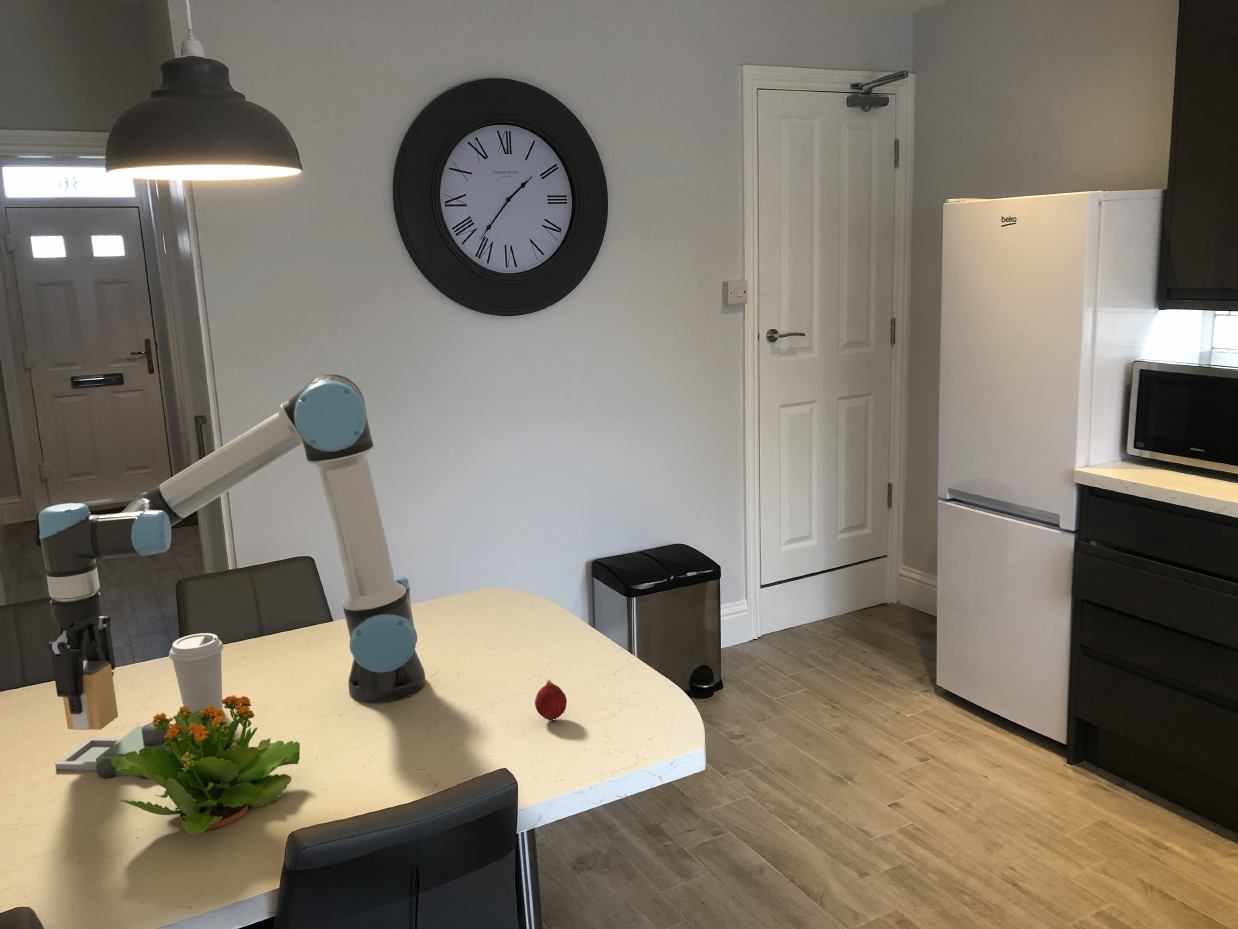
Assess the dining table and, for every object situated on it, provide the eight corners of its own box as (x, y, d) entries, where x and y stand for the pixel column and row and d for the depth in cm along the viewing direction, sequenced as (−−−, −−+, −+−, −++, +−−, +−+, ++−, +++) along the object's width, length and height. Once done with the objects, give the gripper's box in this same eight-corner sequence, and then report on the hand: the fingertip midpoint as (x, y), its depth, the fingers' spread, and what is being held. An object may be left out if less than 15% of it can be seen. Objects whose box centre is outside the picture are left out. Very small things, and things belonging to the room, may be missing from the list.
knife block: (118, 716, 169) (110, 660, 167) (100, 729, 164) (92, 672, 162) (86, 716, 169) (78, 660, 167) (67, 729, 164) (59, 671, 162)
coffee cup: (211, 727, 178) (202, 651, 175) (166, 724, 180) (156, 649, 177) (241, 704, 187) (232, 632, 184) (197, 702, 189) (188, 630, 186)
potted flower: (265, 859, 136) (252, 746, 133) (94, 872, 135) (77, 758, 131) (307, 770, 161) (297, 673, 157) (163, 780, 159) (150, 682, 156)
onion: (572, 716, 177) (571, 676, 176) (558, 730, 172) (556, 689, 171) (545, 711, 180) (543, 672, 178) (530, 725, 175) (528, 684, 173)
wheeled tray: (199, 739, 173) (195, 708, 172) (156, 779, 160) (151, 746, 158) (98, 737, 175) (94, 707, 174) (47, 777, 161) (42, 744, 160)
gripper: (87, 578, 171) (104, 698, 176) (16, 612, 153) (37, 745, 158) (127, 578, 170) (143, 699, 175) (60, 613, 153) (80, 746, 157)
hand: (93, 721), depth 166 cm, fingers closed on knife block, 5 cm apart
